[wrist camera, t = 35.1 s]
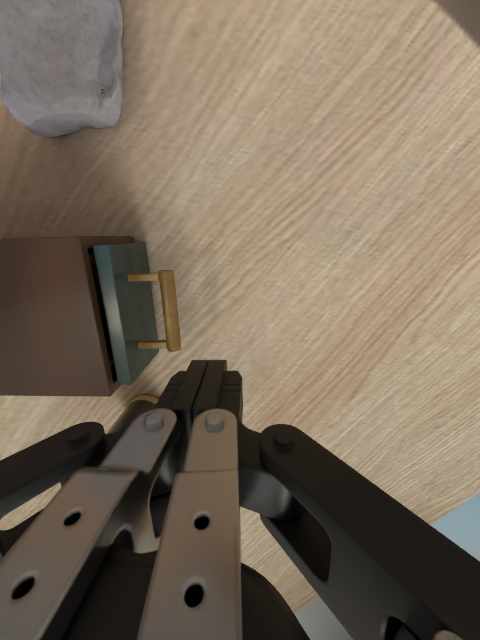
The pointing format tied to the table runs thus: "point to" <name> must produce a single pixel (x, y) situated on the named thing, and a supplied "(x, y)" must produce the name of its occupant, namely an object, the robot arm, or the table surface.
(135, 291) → the drawer
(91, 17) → the stone block
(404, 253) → the table surface
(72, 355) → the cabinet
